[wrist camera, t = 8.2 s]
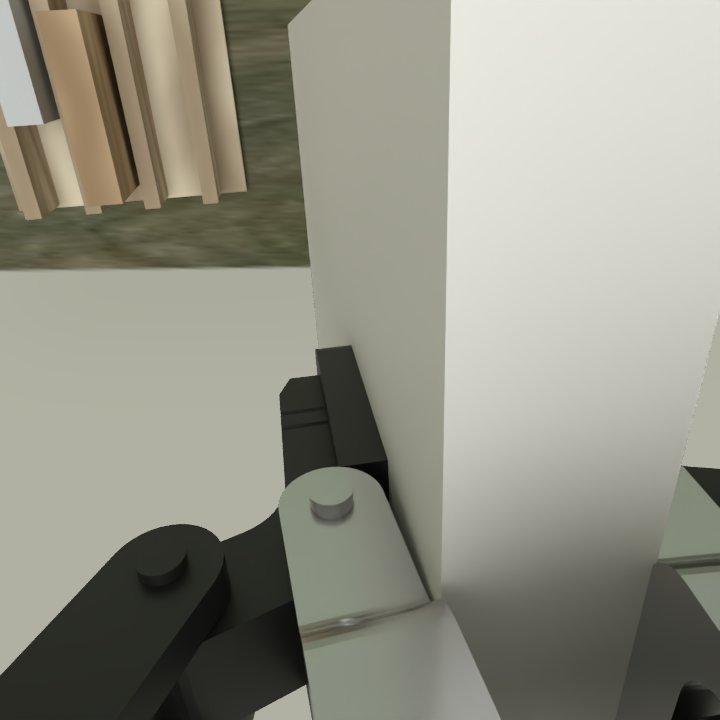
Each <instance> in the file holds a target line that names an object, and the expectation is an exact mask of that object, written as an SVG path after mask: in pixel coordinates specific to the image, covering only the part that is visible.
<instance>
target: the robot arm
mask: <svg viewBox="0 0 720 720" xmlns="http://www.w3.org/2000/svg"><path fill="white" fill-rule="evenodd" d="M315 352H316V365H317V375H316V376H309V377H300V378H292V379H290V380H289V381H288V383H287V384H286V386H285V387H284V389H283V390H282V392H281V393H280V411H281V425H282V442H283V457H284V473H285V490H284V491H283V493H282V495H281V497H280V500H279V507H278V508H277V509H276V510H275V512H274V513H273V514H272V515H271V516H270V517H269V518H267V519H266V520H265V521H263V522H262V523H261V524H259V525H257V526H256V527H254V528H252V529H250V530H248V531H246V532H244V533H242V534H239V535H237V536H234V537H232V538H229V539H227V540H224V541H222V542H220V541H219V539H218V538H217V537H216V536H215V535H214V534H213V533H212V532H210V531H208V530H207V529H205V528H202V527H199V526H195V525H189V524H177V525H169V526H164V527H160V528H157V529H153V530H151V531H148V532H146V533H144V534H142V535H140V536H138V537H137V538H135V539H133V540H131V541H130V542H128V543H127V544H126V545H124V546H123V547H122V548H121V549H120V550H119V551H118V552H117V553H115V555H114V556H113V557H112V558H111V559H110V560H109V561H108V562H107V563H106V564H105V565H104V566H103V567H102V568H101V569H100V571H98V573H97V574H96V575H95V576H94V577H93V578H92V579H91V580H90V581H89V582H88V583H87V584H86V585H85V587H83V588H82V590H81V591H80V592H79V593H78V594H77V595H76V596H75V597H74V598H73V599H72V600H71V601H70V602H69V603H68V604H67V605H66V606H65V608H64V609H63V610H62V611H61V612H60V613H59V614H58V615H57V616H56V617H55V618H54V619H53V620H52V621H51V622H50V624H48V626H47V627H46V628H45V629H44V630H43V631H42V632H41V633H40V634H39V635H38V636H37V637H36V638H35V640H34V641H32V643H31V644H30V645H29V646H28V647H27V648H26V649H25V650H24V651H23V652H22V653H21V654H20V655H19V656H18V657H17V658H16V659H15V661H14V662H13V663H12V664H11V665H10V666H9V667H8V668H7V669H6V670H5V671H4V672H3V673H2V674H1V675H0V720H253V718H254V714H255V712H256V711H258V710H259V709H261V708H263V707H265V706H267V705H268V704H271V703H272V702H274V701H276V700H278V699H280V698H282V697H284V696H286V695H287V694H289V693H291V692H293V691H295V690H297V689H299V688H300V687H302V686H304V685H306V687H307V693H308V699H309V705H310V711H311V717H312V720H501V718H500V716H499V714H498V712H497V709H496V707H495V705H494V703H493V701H492V698H491V696H490V694H489V692H488V689H487V687H486V685H485V683H484V681H483V678H482V676H481V674H480V672H479V670H478V667H477V665H476V663H475V661H474V659H473V656H472V654H471V652H470V650H469V647H468V645H467V643H466V641H465V639H464V636H463V634H462V632H461V630H460V628H459V625H458V623H457V621H456V619H455V617H454V615H453V613H452V611H451V610H450V608H449V606H448V605H447V604H446V603H445V602H444V601H443V600H441V599H438V600H434V601H430V599H429V598H428V596H427V594H426V591H425V589H424V587H423V584H422V582H421V579H420V577H419V575H418V572H417V570H416V568H415V565H414V563H413V560H412V558H411V556H410V553H409V551H408V548H407V546H406V544H405V541H404V539H403V537H402V534H401V532H400V529H399V527H398V525H397V522H396V520H395V517H394V515H393V513H392V510H391V508H390V504H389V477H388V459H387V456H386V453H385V449H384V446H383V443H382V440H381V437H380V434H379V430H378V427H377V424H376V421H375V418H374V415H373V412H372V408H371V405H370V402H369V399H368V396H367V393H366V390H365V386H364V383H363V380H362V377H361V374H360V371H359V367H358V364H357V361H356V358H355V355H354V352H353V349H352V346H351V345H347V346H338V347H330V348H321V349H316V351H315ZM615 720H720V469H713V468H698V467H688V466H682V465H681V468H680V472H679V476H678V480H677V484H676V488H675V492H674V496H673V500H672V504H671V508H670V512H669V516H668V520H667V524H666V528H665V532H664V536H663V540H662V544H661V548H660V552H659V556H658V560H657V563H655V564H653V567H652V571H651V575H650V579H649V583H648V587H647V591H646V595H645V599H644V603H643V608H642V612H641V616H640V620H639V624H638V628H637V632H636V636H635V640H634V644H633V648H632V653H631V657H630V661H629V665H628V669H627V673H626V677H625V681H624V685H623V689H622V693H621V698H620V702H619V706H618V710H617V714H616V718H615Z"/></svg>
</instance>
